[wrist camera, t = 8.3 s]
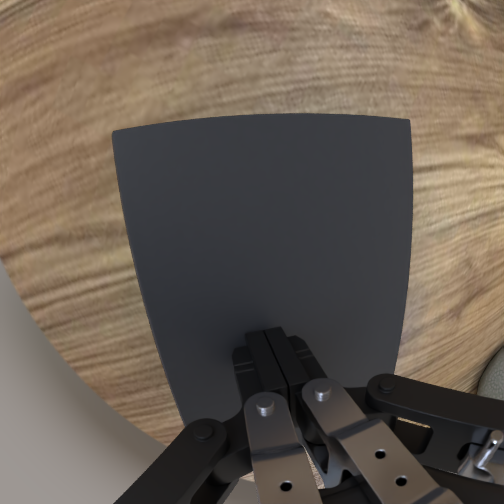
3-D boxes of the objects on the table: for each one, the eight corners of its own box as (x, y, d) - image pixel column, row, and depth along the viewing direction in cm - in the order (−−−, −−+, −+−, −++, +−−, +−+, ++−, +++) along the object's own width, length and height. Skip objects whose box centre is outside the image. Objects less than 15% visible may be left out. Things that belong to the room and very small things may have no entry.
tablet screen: (206, 476, 15) (211, 487, 14) (111, 134, 9) (112, 130, 8) (382, 384, 21) (390, 389, 20) (397, 119, 15) (410, 119, 14)
